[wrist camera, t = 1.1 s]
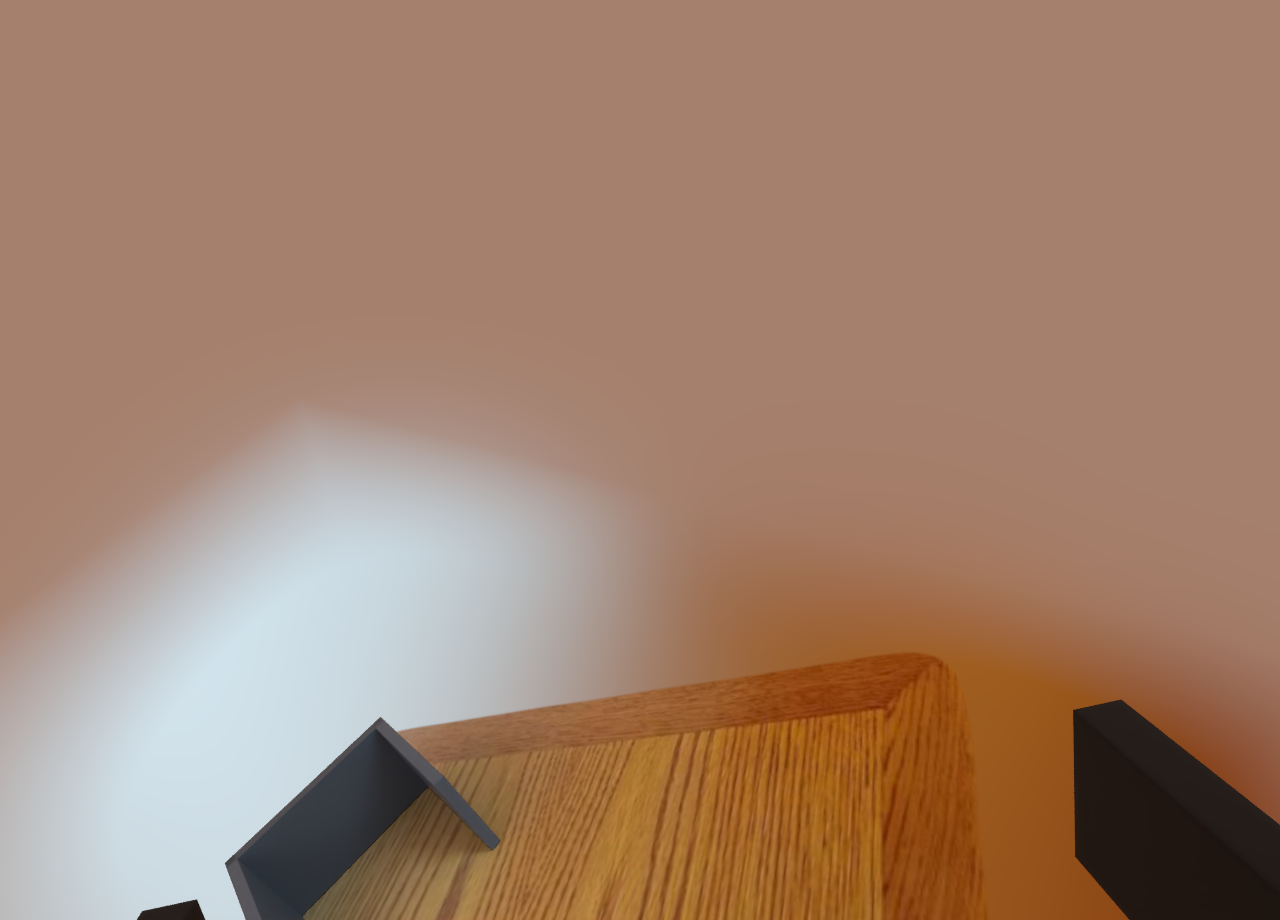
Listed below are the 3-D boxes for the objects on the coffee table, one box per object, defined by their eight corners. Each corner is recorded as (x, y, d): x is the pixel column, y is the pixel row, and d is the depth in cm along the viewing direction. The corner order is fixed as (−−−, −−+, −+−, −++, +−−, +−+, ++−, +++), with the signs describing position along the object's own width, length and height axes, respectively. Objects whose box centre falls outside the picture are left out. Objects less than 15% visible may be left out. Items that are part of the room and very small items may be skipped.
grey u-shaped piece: (500, 840, 51) (443, 775, 48) (338, 1025, 45) (261, 963, 42) (432, 774, 60) (380, 716, 57) (290, 920, 54) (224, 863, 51)
